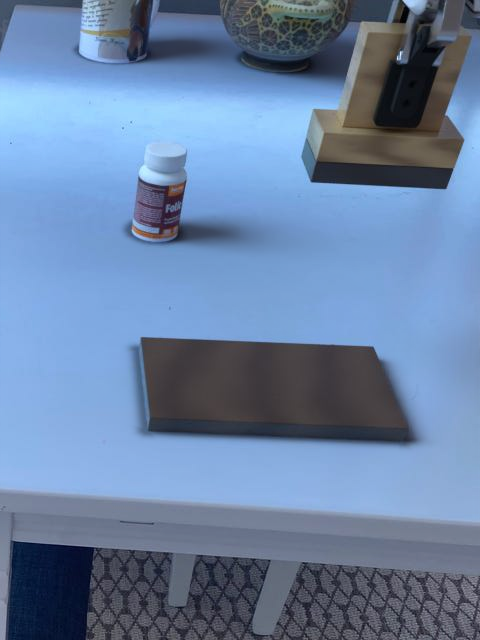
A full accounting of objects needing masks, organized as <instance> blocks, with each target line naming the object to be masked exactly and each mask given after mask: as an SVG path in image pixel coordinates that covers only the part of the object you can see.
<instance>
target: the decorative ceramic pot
mask: <svg viewBox="0 0 480 640" xmlns="http://www.w3.org/2000/svg"><path fill="white" fill-rule="evenodd" d="M355 6H356V0H219V11H220V12H219V13H220V17H221V20H222V24H223V26H224V28H225V31H226V32H227V34H228V35H229V37H230V39H231V40H232V41H233V42H234V43H235V44H236V46H238V47H239V48H240V49H241V50H242V51H243V52H242V56H241V61H242V62H243V63H244V64H245V65H246V66H249V67H251V68H254V69H257V70H261V71H266V72H271V73H272V72H273V73H293V72H300V71H301V70H304V69H305V70H306V68H308V66H309V65H310V57H313V56H315V55H316V54H319V53H320V52H322V51H323V50H325V49H326V48H328V47H329V46H331V44H332V43H334V42H336V40H337V39H338V38H339V37H340V36H341V35H342V34H343V33H344V31H345V30H346V28H347V27H348V25H349V23H350V21H351V19H352V17H353V14H354V11H355Z"/></svg>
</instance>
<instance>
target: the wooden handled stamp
mask: <svg viewBox="0 0 480 640" xmlns="http://www.w3.org/2000/svg"><path fill="white" fill-rule="evenodd" d="M405 26H406V23H387V22H383V21H382V22H381V21H361V22H360V25H359V29H358V33H357V37H356V40H355V43H354V48H353V52H352V55H351V59H350V62H349V66H348V70H347V75H346V77H345V81H344V85H343V89H342V92H341V96H340V100H339V103H338V107H337V109H331V108H330V109H329V108H328V109H327V108H313V109H312V111H311V116H310V120H309V123H308V128H307V132H306V137H305V140H304V144H303V147H302V152H301V156H300V158H301V160H302V163H303V166H304V169H305V171H306V173H307V176H308V179H309V182H310V183H311V184H312V183H313V184H333V185H351V186H369V187H391V188H408V189H410V188H411V189H426V190H427V189H429V190H447V189H448V186H449V183H450V182H451V181H450V180H451V178H452V174H453V172H454V169H455V167H456V164H457V162H458V159H459V156H460V154H461V151H462V148H463V145H464V143H465V138H464V136H463V135H462V134H461V132H460V131H459V129H458V128H457V127H456V125H455V124H454V122H453V121H452V120H451V118H450V117H449V115H447V112H448V108H449V106H450V102H451V99H452V96H453V94H454V92H455V91H454V90H455V88H456V85H457V83H458V79H459V76H460V73H461V70H462V69H463V64H464V62H465V60H466V56H467V53H468V51H469V48H470V45H471V43H472V39H473V36H472V34H470V33H469V31H468V30H467V29H466V28H465V27H464V26H463V25H460V30H459V34H458V37H457V39H456V40H455V41H454V42H452V43H451V44H449V45H447V47H446V51H445V54H444V57H443V60H442V63H441V65H440V66H439V68H438V71H437V74H436V77H435V80H434V83H433V86H432V89H431V92H430V95H429V98H428V101H427V104H426V107H425V110H424V113H423V116H422V119H421V122H420V124H419V125H418V126H417V127H416V128H401V127H381V126H376V125H375V123H374V121H373V118H374V114H375V111H376V107H377V104H378V101H379V97H380V94H381V90H382V87H383V84H384V80H385V77H386V74H387V70H388V67H389V63H390V61H396V59H397V54H398V50H399V47H400V43H401V40H402V36H403V33H404V29H405ZM423 26H430V25H427V24H419V27H418V31H417V34H418V32H419V31H420V30H421V28H422V27H423ZM417 34H416V35H417Z"/></svg>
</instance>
